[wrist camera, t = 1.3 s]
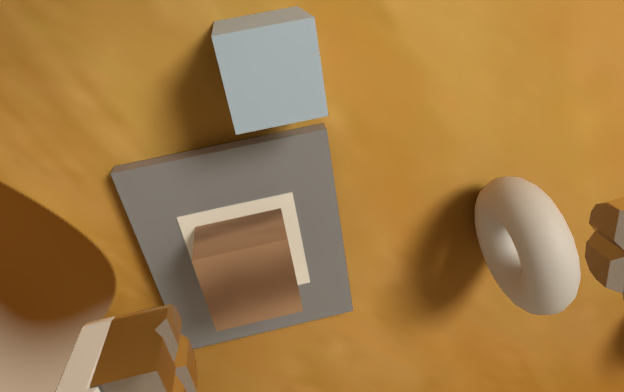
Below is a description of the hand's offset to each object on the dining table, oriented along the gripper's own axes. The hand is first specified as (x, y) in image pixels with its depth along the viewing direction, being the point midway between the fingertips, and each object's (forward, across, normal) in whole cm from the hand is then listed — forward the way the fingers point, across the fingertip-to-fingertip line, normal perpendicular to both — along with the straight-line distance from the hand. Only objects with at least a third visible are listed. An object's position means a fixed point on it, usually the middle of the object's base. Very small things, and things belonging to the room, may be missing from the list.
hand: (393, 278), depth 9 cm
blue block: (+22, +1, -1) cm, 22 cm away
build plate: (+22, +5, +12) cm, 26 cm away
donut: (+23, -14, +14) cm, 30 cm away
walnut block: (+21, +5, +12) cm, 25 cm away
